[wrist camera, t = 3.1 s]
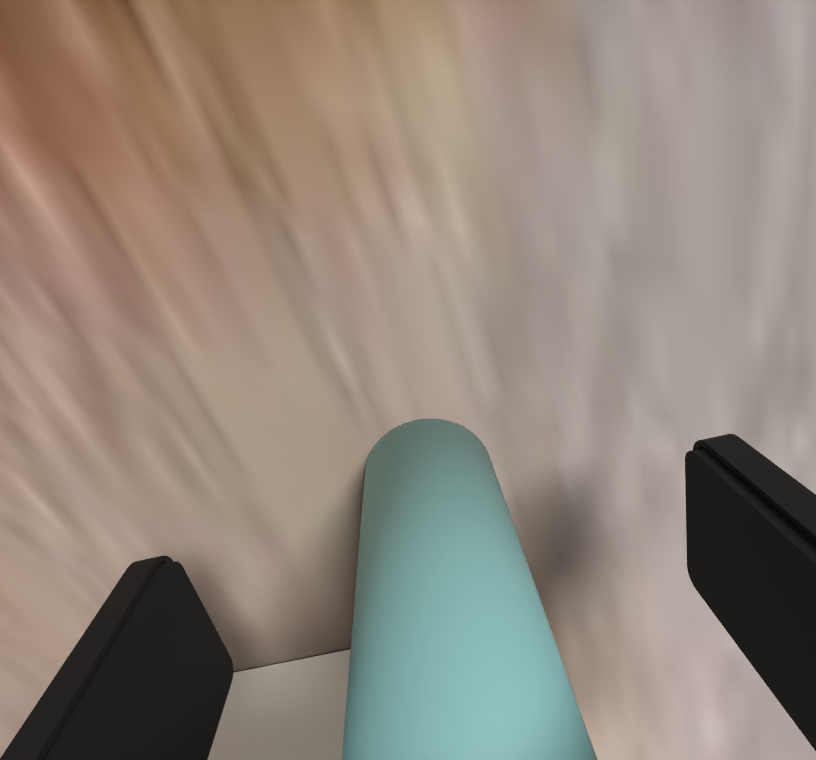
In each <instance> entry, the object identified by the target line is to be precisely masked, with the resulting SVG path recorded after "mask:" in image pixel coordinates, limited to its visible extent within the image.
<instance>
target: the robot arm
mask: <svg viewBox="0 0 816 760" xmlns="http://www.w3.org/2000/svg"><path fill="white" fill-rule="evenodd" d="M685 478H686V529H687V568H688V573H689V576H690V579H691V581H692V583H693V585H694V587H695V588H696V590H697V591H698V593H699V594H700V595H701V597H702V598H703V599H704V601H705V602H706V603H707V605H708V606H709V607H710V609H711V610H712V612H713V613H714V614H715V616H716V617H717V618H718V620H719V621H720V622H721V624H722V625H723V626H724V628H725V629H726V630H727V632H728V633H729V634H730V636H731V637H732V639H733V640H734V641H735V643H736V644H737V645H738V647H739V648H740V649H741V651H742V652H743V653H744V655H745V656H746V657H747V659H748V660H749V662H750V663H751V664H752V666H753V667H754V668H755V670H756V671H757V672H758V674H759V675H760V676H761V678H762V679H763V680H764V682H765V683H766V684H767V686H768V687H769V689H770V690H771V691H772V693H773V694H774V695H775V697H776V698H777V699H778V701H779V702H780V703H781V705H782V706H783V707H784V709H785V710H786V712H787V713H788V714H789V716H790V717H791V718H792V720H793V721H794V722H795V724H796V725H797V726H798V728H799V729H800V730H801V732H802V733H803V734H804V736H805V737H806V739H807V740H808V741H809V743H810V744H811V745H812V747H813V748H814V749H815V751H816V495H815V494H814V493H813V492H811V491H810V490H809V489H807V488H806V487H805V486H803V485H802V484H801V483H799V482H798V481H797V480H795V479H794V478H793V477H791V476H790V475H789V474H787V473H786V472H785V471H783V470H782V469H781V468H779V467H778V466H777V465H775V464H774V463H773V462H771V461H770V460H769V459H767V458H766V457H765V456H763V455H762V454H761V453H759V452H758V451H757V450H755V449H754V448H753V447H751V446H750V445H749V444H747V443H746V442H745V441H743V440H742V439H741V438H739V437H738V436H736V435H734V434H727V435H722V436H718V437H713V438H708V439H704V440H699V441H697V442H695V444H694V446H693V451H689V452H687V453H686V456H685ZM232 679H233V663H232V660H231V657H230V655H229V653H228V651H227V649H226V648H225V646H224V644H223V642H222V640H221V638H220V636H219V634H218V632H217V631H216V629H215V627H214V625H213V623H212V621H211V619H210V617H209V615H208V614H207V612H206V610H205V608H204V606H203V604H202V602H201V600H200V598H199V597H198V595H197V593H196V591H195V589H194V587H193V585H192V583H191V581H190V580H189V578H188V576H187V574H186V572H185V570H184V568H183V566H182V565H181V564H180V563H179V562H175V561H174V562H173V560H172V559H171V558H170V557H168V556H159V557H155V558H150V559H145V560H141V561H136V562H134V563H132V564H131V565H130V566H129V567H128V568H127V570H126V571H125V573H124V574H123V576H122V577H121V579H120V580H119V582H118V583H117V585H116V586H115V588H114V589H113V591H112V592H111V594H110V595H109V597H108V598H107V600H106V601H105V603H104V604H103V606H102V607H101V609H100V610H99V612H98V613H97V615H96V616H95V618H94V619H93V621H92V622H91V624H90V625H89V627H88V628H87V630H86V631H85V633H84V634H83V636H82V637H81V639H80V640H79V642H78V643H77V645H76V646H75V648H74V649H73V651H72V652H71V654H70V655H69V656H68V658H67V659H66V661H65V662H64V664H63V665H62V667H61V668H60V670H59V671H58V673H57V674H56V676H55V677H54V679H53V680H52V682H51V683H50V685H49V686H48V688H47V689H46V691H45V692H44V694H43V695H42V697H41V698H40V700H39V701H38V703H37V704H36V706H35V707H34V709H33V710H32V712H31V713H30V715H29V716H28V718H27V719H26V721H25V722H24V724H23V725H22V727H21V728H20V730H19V731H18V733H17V734H16V736H15V737H14V739H13V740H12V742H11V743H10V745H9V746H8V748H7V749H6V751H5V752H4V754H3V755H2V757H1V758H0V760H208V757H209V753H210V750H211V747H212V744H213V741H214V737H215V734H216V731H217V728H218V725H219V721H220V718H221V715H222V712H223V709H224V705H225V702H226V699H227V696H228V693H229V689H230V686H231V683H232Z"/></svg>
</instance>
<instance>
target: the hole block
mask: <svg viewBox="0 0 816 760" xmlns="http://www.w3.org/2000/svg"><path fill="white" fill-rule="evenodd" d="M350 651H351V649H350V650H345V651H340V652H335V653H330V654H325V655H320V656H315V657H310V658H305V659H300V660H295V661H289V662H284V663H279V664H274V665H269V666H264V667H259V668H254V669H249V670H244V671H239V672H234V673H233V679H232V683H231V686H230V689H229V693H228V696H227V699H226V702H225V705H224V709H223V712H222V715H221V718H220V721H219V725H218V728H217V731H216V734H215V737H214V741H213V744H212V747H211V750H210V753H209V757H208V760H342V749H343V737H344V724H345V712H346V700H347V688H348V675H349V663H350Z"/></svg>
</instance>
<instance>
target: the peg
mask: <svg viewBox="0 0 816 760" xmlns="http://www.w3.org/2000/svg"><path fill="white" fill-rule="evenodd" d="M342 760H597V757H596V755H595V752H594V749H593V746H592V743H591V741H590V738H589V735H588V732H587V729H586V727H585V724H584V721H583V718H582V715H581V712H580V710H579V707H578V704H577V701H576V698H575V696H574V693H573V690H572V687H571V684H570V682H569V679H568V676H567V673H566V670H565V668H564V665H563V662H562V659H561V656H560V653H559V651H558V648H557V645H556V642H555V639H554V637H553V634H552V631H551V628H550V625H549V623H548V620H547V617H546V614H545V611H544V609H543V606H542V603H541V600H540V597H539V594H538V592H537V589H536V586H535V583H534V580H533V578H532V575H531V572H530V569H529V566H528V564H527V561H526V558H525V555H524V552H523V550H522V547H521V544H520V541H519V538H518V535H517V533H516V530H515V527H514V524H513V521H512V519H511V516H510V513H509V510H508V507H507V505H506V502H505V499H504V496H503V493H502V490H501V488H500V485H499V482H498V479H497V476H496V474H495V471H494V468H493V465H492V462H491V460H490V457H489V454H488V452H487V450H486V448H485V446H484V445H483V443H482V442H481V441H480V440H479V438H478V437H477V436H476V435H474V434H473V433H472V432H471V431H469V430H468V429H466V428H465V427H463V426H461V425H459V424H456V423H453V422H450V421H446V420H441V419H421V420H415V421H411V422H408V423H405V424H402V425H400V426H398V427H396V428H394V429H392V430H391V431H389V432H388V433H387V434H385V435H384V436H383V437H382V438H381V439H380V440H379V441H378V442H377V444H376V445H375V446H374V447H373V449H372V451H371V453H370V455H369V457H368V460H367V463H366V467H365V479H364V491H363V503H362V516H361V528H360V540H359V553H358V565H357V577H356V589H355V602H354V614H353V626H352V638H351V651H350V663H349V675H348V688H347V700H346V712H345V724H344V737H343V749H342Z"/></svg>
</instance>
